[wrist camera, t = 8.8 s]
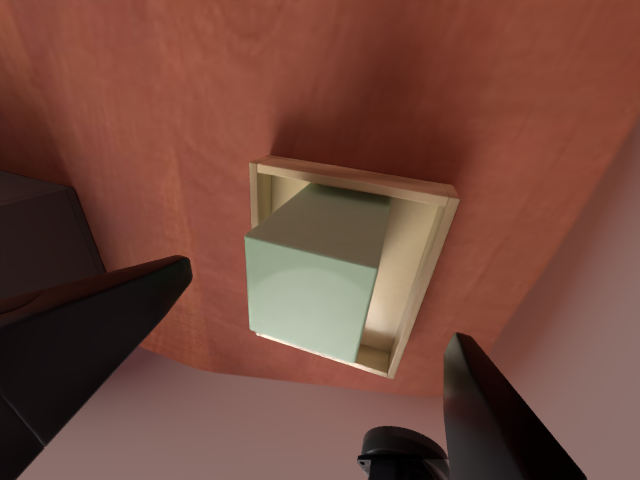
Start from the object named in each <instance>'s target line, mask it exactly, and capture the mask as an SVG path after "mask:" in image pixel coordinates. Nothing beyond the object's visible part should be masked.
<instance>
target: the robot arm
mask: <svg viewBox="0 0 640 480" xmlns="http://www.w3.org/2000/svg"><path fill="white" fill-rule="evenodd" d="M192 277H193V275H192V269H191V264H190V260H189V258H187V257H184V256H181V255H174V256H171V257H167V258H163V259H159V260H155V261H151V262H147V263H143V264H139V265H135V266H132V267H128V268H124V269H120V270H116V271H112V272H108V273H104V274H100V275H96V276H92V277H89V278H85V279H81V280H77V281H73V282H69V283H65V284H61V285H57V286H53V287H50V288H48V289H42V290H38V291H34V292H30V293H26V294H22V295H18V296H14V297H10V298H5V299H1V300H0V480H16V479H17V478H18V477H19V476H20V475H21V474H22V473H23V472H24V470H26V468H27V467H28V466H29V465H30V464H31V463H32V462H33V461H34V460H35V458H36V457H37V456H38V455H39V454H40V453H41V452H42V451H43V450H44V447H46V446H47V445H48V444H49V443H50V442H51V441H52V439H54V437H55V436H56V435H57V434H58V433H59V432H60V431H61V430H62V429H63V427H64V426H65V425H66V424H67V423H68V422H69V421H70V420H71V419H72V418H73V417H74V416H75V414H76V413H77V412H78V411H79V410H80V409H81V408H82V407H83V406H84V405H85V403H86V402H87V401H88V400H89V399H90V398H91V397H92V396H93V395H94V394H95V392H96V391H97V390H98V389H99V388H100V387H101V386H102V385H103V384H104V383H105V382H106V380H107V379H108V378H109V377H110V376H111V375H112V374H113V373H114V372H115V371H116V369H117V368H118V367H119V366H120V365H121V364H122V363H123V362H124V360H126V359H127V357H128V356H129V355H130V354H131V353H132V352H133V351H134V350H135V349H136V348H137V347H138V345H139V344H140V343H141V342H142V341H143V340H144V339H145V338H146V337H147V336H148V335H149V333H150V332H151V331H152V330H153V329H154V328H155V327H156V326H157V325H158V324H159V322H160V321H161V320H162V319H163V318H164V317H165V316H166V314H167V313H168V312H169V310H170V309H171V308H172V307H173V305H174V304H175V303H176V301H177V300H178V299H179V297H180V296H181V295H182V293H183V292H184V291H185V289H186V288H187V287H188V285H189V284H190V283H191V281H192ZM444 421H445V431H446V440H447V449H448V459H449V468H450V477H451V480H587V477H586V476H585V474H584V473H583V472H582V471H581V469H580V468H579V467H578V466H577V465H576V463H575V462H574V461H573V460H572V459H571V457H570V456H569V455H568V454H567V452H566V451H565V450H564V449H563V448H562V447H561V445H560V444H559V443H558V442H557V440H556V439H555V438H554V437H553V435H552V434H551V433H550V432H549V430H548V429H547V428H546V427H545V426H544V424H543V423H542V422H541V421H540V419H539V418H538V417H537V416H536V415H535V413H534V412H533V411H532V410H531V409H530V407H529V406H528V405H527V404H526V402H525V401H524V400H523V399H522V397H521V396H520V395H519V394H518V393H517V391H516V390H515V389H514V388H513V387H512V385H511V384H510V383H509V382H508V380H507V379H506V378H505V377H504V376H503V374H502V373H501V372H500V371H499V369H498V368H497V367H496V366H495V365H494V363H493V362H492V361H491V360H490V358H489V357H488V356H487V355H486V354H485V352H484V351H483V350H482V349H481V347H480V346H479V345H478V344H477V343H476V341H475V340H474V339H473V338H472V337H471V336H469V335H466V334H462V333H459V332H456V333H454V334H453V336H452V338H451V340H450V342H449V344H448V346H447V348H446V350H445V354H444ZM357 463H358V464H359V465H360V466H361V468H362V469H363V470H364V471H365V472H366V473H367V475H368V480H440V479H439V478H438V476H437V475H436V474H435V473H434V471H433V470H432V469H431V467H430V466H429V465H428V463H427V462H426V461H425V459H424V458H423V457H422V456H420V455H416V454H409V455H359V456H358V458H357Z"/></svg>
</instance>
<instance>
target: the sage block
mask: <svg viewBox="0 0 640 480" xmlns="http://www.w3.org/2000/svg"><path fill="white" fill-rule="evenodd" d="M391 202H392V199H391V198H388V197H383V196H377V195H372V194H366V193H361V192H355V191H350V190H345V189H339V188H334V187H328V186H323V185H317V184H312V183H310V184H308V185H307V186H306V187H304V188H303V189H302V190H301V191H299V192H298V193H297V194H296V195H294V196H293V197H292V198H291V199H290V200H288V201H287V202H286V203H285V204H283V205H282V206H281V207H280V208H278V209H277V210H276V211H275V212H273V213H272V214H271V215H270V216H268V217H267V218H266V219H265V220H263V221H262V222H261V223H260V224H258V225H257V226H256V227H255V228H253V229H252V230H251V231H250V232H248V233H247V234H246V235H245V254H246V273H247V291H248V310H249V328H250V330H252V331H255V332H258V333H261V334H264V335H267V336H270V337H273V338H276V339H280V340H283V341H286V342H289V343H292V344H295V345H298V346H301V347H304V348H307V349H310V350H313V351H316V352H319V353H323V354H326V355H329V356H332V357H335V358H338V359H341V360H344V361H347V362H350V363H355V362H356V360H357V356H358V352H359V347H360V343H361V339H362V335H363V331H364V327H365V323H366V319H367V315H368V311H369V307H370V303H371V299H372V295H373V290H374V286H375V282H376V278H377V274H378V270H379V265H380V260H381V255H382V249H383V244H384V239H385V234H386V228H387V223H388V218H389V212H390V207H391Z"/></svg>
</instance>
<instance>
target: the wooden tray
mask: <svg viewBox="0 0 640 480" xmlns="http://www.w3.org/2000/svg"><path fill="white" fill-rule="evenodd" d="M249 173H250V199H251V225H252V229H253V228H255V227H256V226H257V225H258V224H260V223H261V222H262V221H263V220H265V219H266V218H267V217H268V216H270V215H271V214H272V213H273V212H275V211H276V210H277V209H278V208H280V207H281V206H282V205H283V204H285V203H286V202H287V201H288V200H290V199H291V198H292V197H293V196H294V195H296V194H297V193H298V192H299V191H301V190H302V189H303V188H304V187H306V186H307V185H308V184H310V183H312V184H317V185H323V186H328V187H334V188H339V189H345V190H350V191H355V192H361V193H366V194H372V195H377V196H383V197H388V198H391V199H392V202H391V207H390V212H389V218H388V223H387V228H386V234H385V239H384V244H383V249H382V255H381V260H380V265H379V270H378V274H377V278H376V282H375V286H374V290H373V295H372V299H371V303H370V307H369V311H368V315H367V319H366V323H365V327H364V331H363V335H362V339H361V343H360V347H359V352H358V356H357V360H356V362H355V363H350V362H347V361H344V360H341V359H338V358H335V357H332V356H329V355H326V354H323V353H319V352H316V351H313V350H310V349H307V348H304V347H301V346H298V345H295V344H292V343H289V342H286V341H283V340H280V339H276V338H273V337H270V336H267V335H264V334H261V333H258V332H256V335H259V336H262V337H265V338H268V339H271V340H274V341H277V342H280V343H283V344H286V345H289V346H292V347H295V348H298V349H301V350H304V351H307V352H310V353H313V354H316V355H319V356H323V357H326V358H329V359H332V360H335V361H338V362H341V363H344V364H347V365H350V366H353V367H356V368H359V369H362V370H365V371H368V372H371V373H374V374H377V375H380V376H383V377H387V378H390V379H394V377H395V374H396V371H397V369H398V366H399V363H400V361H401V358H402V355H403V353H404V350H405V347H406V344H407V342H408V339H409V336H410V334H411V331H412V328H413V326H414V323H415V320H416V318H417V315H418V312H419V309H420V307H421V304H422V301H423V299H424V296H425V293H426V291H427V288H428V285H429V283H430V280H431V277H432V275H433V272H434V269H435V266H436V264H437V261H438V258H439V256H440V253H441V250H442V248H443V245H444V242H445V240H446V237H447V234H448V232H449V229H450V226H451V223H452V221H453V218H454V215H455V213H456V210H457V207H458V205H459V202H460V198H459V196H458V194H457V192H456V190H455V188H454V186H453V185H449V184H443V183H437V182H431V181H425V180H419V179H413V178H407V177H401V176H395V175H389V174H383V173H377V172H371V171H365V170H359V169H353V168H346V167H340V166H334V165H328V164H322V163H316V162H310V161H304V160H298V159H292V158H286V157H280V156H274V155H268V156H265V157H262V158H259V159H257V160H254V161H251V162H249Z"/></svg>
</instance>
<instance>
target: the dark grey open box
mask: <svg viewBox="0 0 640 480" xmlns="http://www.w3.org/2000/svg"><path fill="white" fill-rule="evenodd" d="M104 273H106V272H105V270H104V267H103V265H102V262H101V259H100V257H99V254H98V251H97V249H96V246H95V243H94V241H93V238H92V235H91V233H90V230H89V228H88V225H87V222H86V220H85V217H84V214H83V212H82V209H81V206H80V204H79V201H78V198H77V196H76V193H75V191H74V188H73V187H69V186H64V185H60V184H56V183H51V182H47V181H43V180H38V179H34V178H30V177H25V176H21V175H17V174H12V173H8V172H4V171H0V300H1V299H5V298H10V297H14V296H18V295H22V294H26V293H30V292H34V291H38V290H42V289H48V288H50V287H53V286H57V285H61V284H65V283H69V282H73V281H77V280H81V279H85V278H89V277H92V276H96V275H100V274H104Z"/></svg>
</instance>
